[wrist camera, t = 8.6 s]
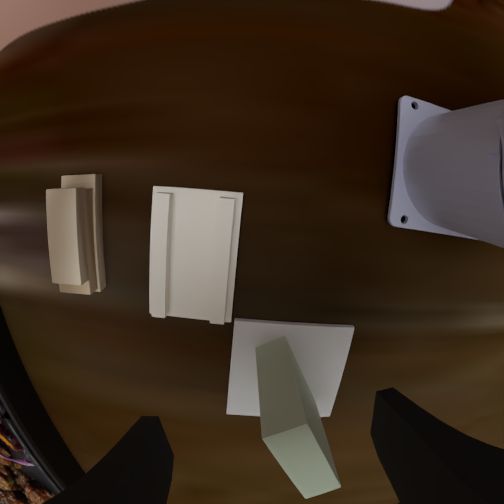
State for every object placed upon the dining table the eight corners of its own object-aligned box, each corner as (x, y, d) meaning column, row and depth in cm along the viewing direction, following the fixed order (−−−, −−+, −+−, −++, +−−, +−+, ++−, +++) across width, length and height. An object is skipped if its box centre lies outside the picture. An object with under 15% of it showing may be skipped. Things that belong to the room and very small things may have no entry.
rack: (243, 192, 18) (243, 194, 16) (231, 318, 20) (230, 329, 18) (155, 185, 18) (148, 186, 16) (151, 310, 19) (145, 320, 18)
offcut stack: (103, 174, 18) (78, 174, 14) (107, 285, 19) (85, 304, 16) (70, 175, 18) (42, 176, 14) (76, 283, 19) (51, 300, 16)
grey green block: (285, 335, 19) (307, 423, 12) (315, 400, 21) (341, 487, 13) (255, 347, 20) (262, 438, 12) (288, 410, 21) (305, 498, 13)
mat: (352, 324, 20) (354, 327, 20) (328, 413, 22) (329, 416, 21) (234, 317, 20) (234, 320, 19) (226, 410, 21) (226, 414, 21)
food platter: (-101, 306, 20) (-151, 336, 10) (0, 293, 19) (-86, 349, 9) (42, 530, 30) (26, 567, 20) (163, 558, 30) (156, 608, 20)
